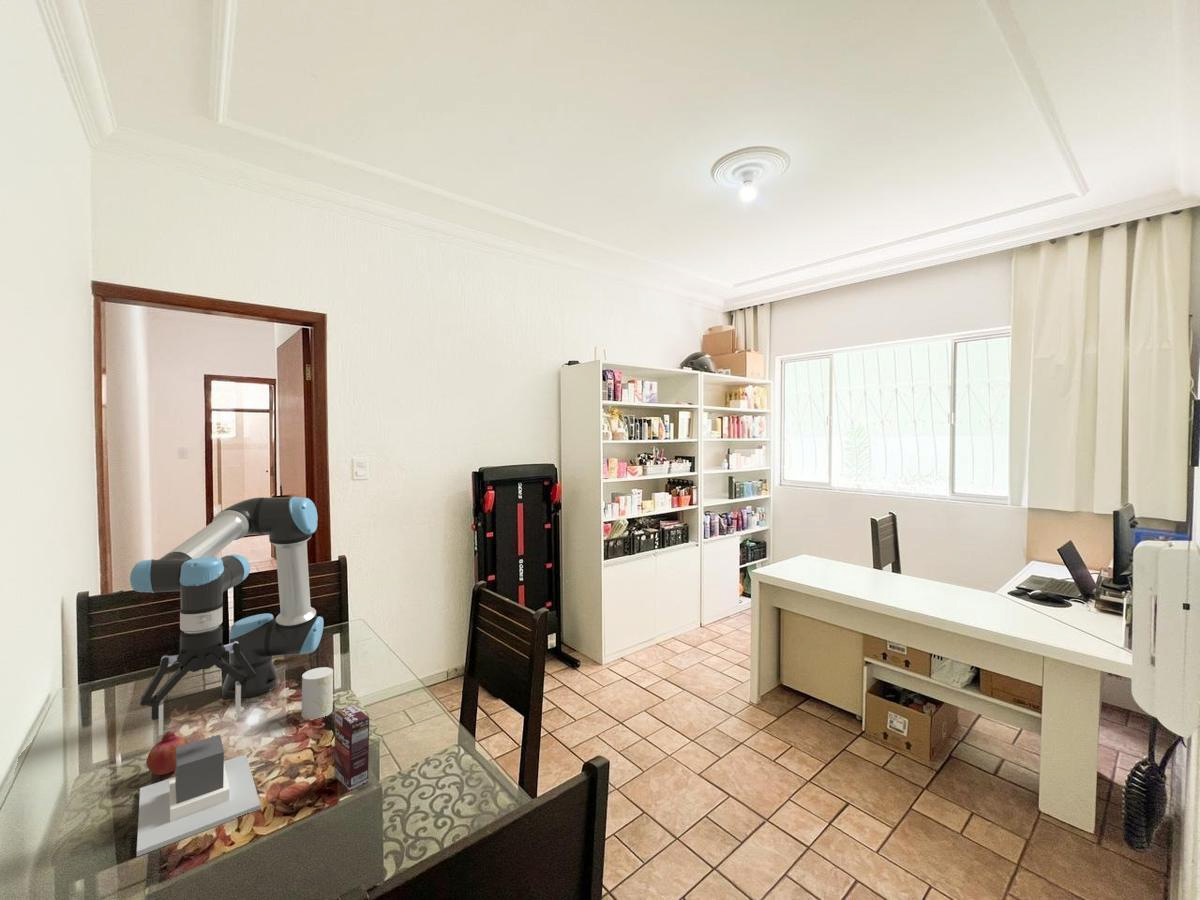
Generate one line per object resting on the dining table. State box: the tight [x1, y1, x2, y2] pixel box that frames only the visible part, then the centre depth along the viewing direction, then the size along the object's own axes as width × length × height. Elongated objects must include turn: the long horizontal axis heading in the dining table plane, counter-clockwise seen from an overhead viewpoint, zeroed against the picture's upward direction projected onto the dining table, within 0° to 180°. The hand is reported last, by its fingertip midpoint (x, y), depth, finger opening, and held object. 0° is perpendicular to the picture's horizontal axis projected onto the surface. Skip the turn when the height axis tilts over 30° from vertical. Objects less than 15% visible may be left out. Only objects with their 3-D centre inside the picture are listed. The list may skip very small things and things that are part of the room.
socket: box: [136, 754, 261, 857], centre depth 113 cm, size 24×20×4 cm
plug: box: [175, 734, 225, 804], centre depth 113 cm, size 9×8×10 cm
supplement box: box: [333, 704, 370, 791], centre depth 121 cm, size 9×5×16 cm, turn 50°
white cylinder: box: [301, 666, 334, 719], centre depth 151 cm, size 8×8×12 cm
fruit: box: [146, 730, 189, 776], centre depth 122 cm, size 8×8×10 cm
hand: (200, 721), depth 113 cm, fingers open, 13 cm apart
